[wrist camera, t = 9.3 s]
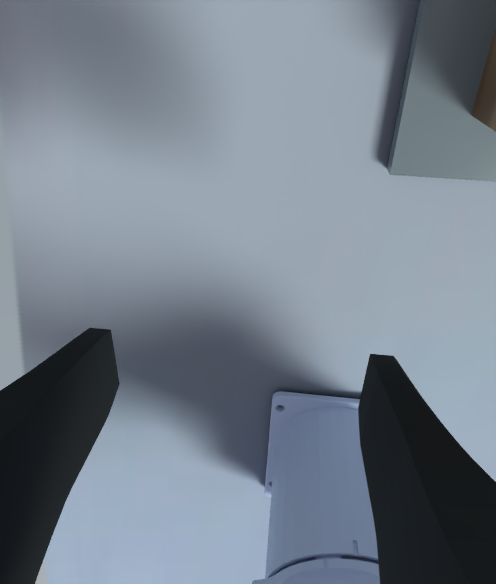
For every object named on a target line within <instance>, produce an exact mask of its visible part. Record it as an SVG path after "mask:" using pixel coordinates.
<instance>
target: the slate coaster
mask: <svg viewBox="0 0 496 584" xmlns="http://www.w3.org/2000/svg"><path fill="white" fill-rule="evenodd" d="M495 27H496V0H420V2H419V7H418V12H417V18H416V23H415V28H414V33H413V38H412V43H411V48H410V54H409V59H408V64H407V69H406V74H405V79H404V84H403V90H402V95H401V100H400V105H399V110H398V115H397V120H396V126H395V131H394V136H393V141H392V146H391V151H390V156H389V161H388V167H387V170H388V172H389V174H390V175H403V176H418V177H434V178H450V179H466V180H481V181H496V132H495V131H494V130H492V129H491V128H489V127H488V126H486V125H485V124H483V123H482V122H480V121H479V120H477V119H476V118H474V117H473V116H471V115H472V112H473V108H474V104H475V101H476V97H477V93H478V90H479V86H480V82H481V79H482V75H483V71H484V68H485V64H486V60H487V57H488V53H489V49H490V46H491V42H492V38H493V35H494V31H495Z"/></svg>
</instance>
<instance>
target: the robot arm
mask: <svg viewBox="0 0 496 584" xmlns="http://www.w3.org/2000/svg"><path fill="white" fill-rule="evenodd" d="M118 386H119V379H118V372H117V366H116V360H115V354H114V347H113V341H112V335H111V330H107V329H97V328H89V329H87V330H86V331H85V332H83V333H82V334H80V335H79V336H78V337H76V338H75V339H73V340H72V341H71V342H69V343H68V344H67V345H65V346H64V347H63V348H61V349H60V350H59V351H57V352H56V353H55V354H53V355H52V356H50V357H49V358H48V359H46V360H45V361H43V362H42V363H41V364H39V365H38V366H37V367H35V368H34V369H32V370H31V371H30V372H28V373H27V374H25V375H23V376H22V377H20V378H19V379H17V380H16V381H14V382H13V383H11V384H10V385H8V386H7V387H5V388H4V389H2V390H1V391H0V584H35V581H36V579H37V575H38V573H39V570H40V567H41V564H42V562H43V559H44V556H45V554H46V551H47V548H48V545H49V543H50V540H51V537H52V535H53V532H54V529H55V527H56V524H57V522H58V519H59V517H60V514H61V512H62V509H63V506H64V504H65V501H66V499H67V497H68V495H69V493H70V491H71V488H72V486H73V484H74V482H75V480H76V478H77V476H78V474H79V473H80V471H81V469H82V467H83V465H84V463H85V461H86V459H87V457H88V455H89V453H90V451H91V449H92V447H93V445H94V443H95V441H96V439H97V437H98V435H99V433H100V431H101V429H102V427H103V425H104V423H105V421H106V419H107V417H108V415H109V412H110V410H111V407H112V404H113V401H114V398H115V395H116V392H117V389H118ZM278 405H282V407H280V406H278ZM265 494H266V495H267V496H268V497H271V506H270V520H269V534H268V548H267V561H266V575H265V579H262V580H254V581H253V582H252V584H496V482H495V481H494V480H493V479H492V478H491V477H490V476H489V475H488V474H487V473H486V472H485V471H484V470H483V469H482V468H481V467H480V466H479V465H478V464H477V463H476V462H475V461H474V460H473V459H472V458H471V457H470V456H469V455H468V454H467V452H466V451H465V450H464V449H463V448H462V447H461V446H460V444H459V443H458V442H457V441H456V440H455V439H454V437H453V436H452V435H451V434H450V433H449V432H448V430H447V429H446V428H445V427H444V425H443V424H442V423H441V422H440V420H439V419H438V418H437V416H436V415H435V414H434V412H433V411H432V410H431V409H430V407H429V406H428V405H427V403H426V402H425V401H424V399H423V398H422V396H421V395H420V394H419V392H418V391H417V389H416V388H415V387H414V385H413V384H412V382H411V381H410V379H409V378H408V376H407V375H406V373H405V372H404V370H403V369H402V367H401V366H400V364H399V363H398V361H397V360H396V359H395V357H394V356H387V355H376V354H370V357H369V362H368V366H367V371H366V375H365V380H364V384H363V389H362V393H361V398H360V399H352V398H342V397H332V396H322V395H312V394H302V393H292V392H282V391H280V392H276V393H274V394H273V396H272V407H271V419H270V431H269V443H268V456H267V468H266V480H265Z"/></svg>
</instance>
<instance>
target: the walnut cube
mask: <svg viewBox="0 0 496 584" xmlns="http://www.w3.org/2000/svg"><path fill="white" fill-rule="evenodd" d="M471 116H473V117H474V118H476V119H477V120H479V121H480V122H482V123H483V124H485V125H486V126H488V127H489V128H491V129H492V130H494V131H495V132H496V27H495V31H494V35H493V38H492V42H491V46H490V49H489V53H488V57H487V60H486V64H485V68H484V71H483V75H482V79H481V82H480V86H479V90H478V93H477V97H476V101H475V104H474V108H473V112H472V115H471Z"/></svg>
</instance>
